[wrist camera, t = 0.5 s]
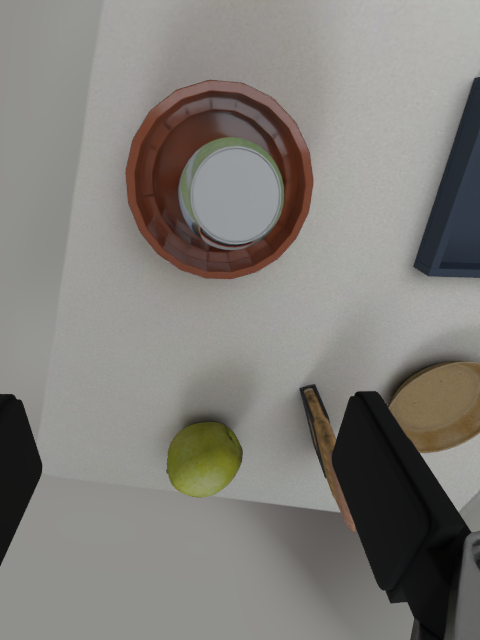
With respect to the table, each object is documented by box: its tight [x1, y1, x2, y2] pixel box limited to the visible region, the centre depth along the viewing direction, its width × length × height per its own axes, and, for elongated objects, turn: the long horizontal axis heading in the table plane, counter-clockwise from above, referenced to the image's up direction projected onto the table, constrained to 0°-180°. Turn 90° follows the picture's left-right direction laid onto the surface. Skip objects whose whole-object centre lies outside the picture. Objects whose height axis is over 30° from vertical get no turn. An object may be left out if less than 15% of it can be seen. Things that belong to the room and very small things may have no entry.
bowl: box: [126, 80, 314, 279], centre depth 27 cm, size 13×13×5 cm
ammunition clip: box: [300, 385, 355, 533], centre depth 38 cm, size 11×2×12 cm, turn 16°
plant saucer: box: [388, 361, 480, 453], centre depth 42 cm, size 15×15×3 cm
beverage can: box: [178, 137, 284, 250], centre depth 23 cm, size 6×7×12 cm
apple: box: [166, 422, 243, 497], centre depth 39 cm, size 8×9×8 cm
